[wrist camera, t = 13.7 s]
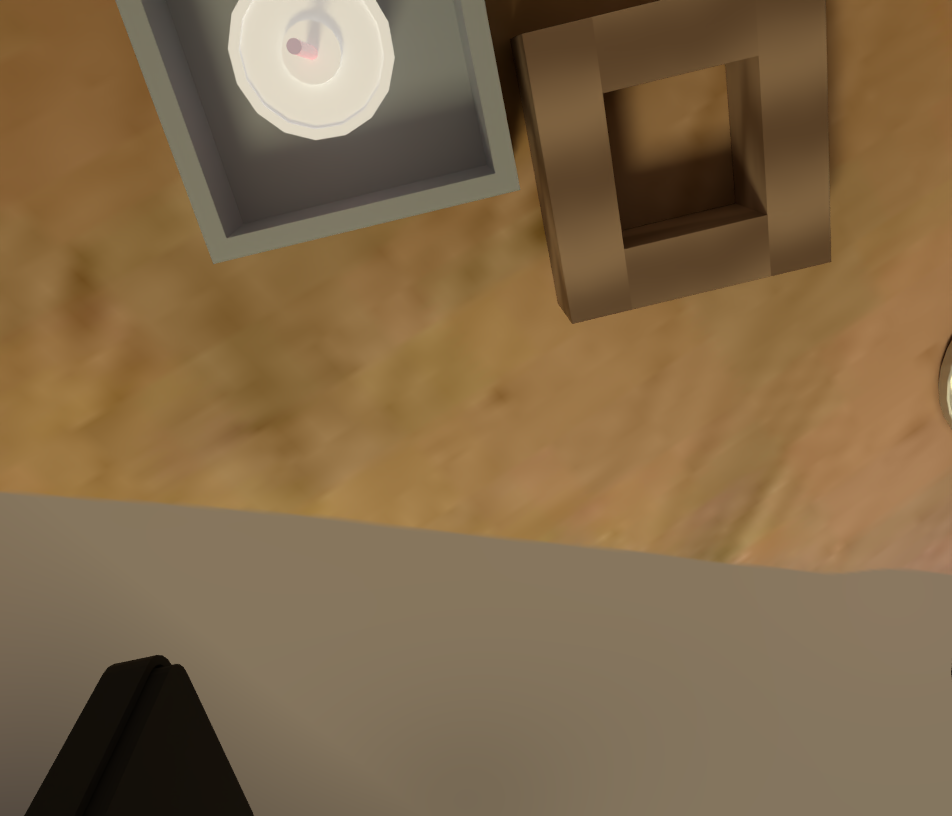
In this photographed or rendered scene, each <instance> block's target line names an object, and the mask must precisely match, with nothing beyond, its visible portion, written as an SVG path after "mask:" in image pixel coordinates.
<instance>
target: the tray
mask: <svg viewBox="0 0 952 816" xmlns="http://www.w3.org/2000/svg"><path fill="white" fill-rule="evenodd" d="M238 1H239V0H116V3H117V6H118V9H119V11H120V14H121V17H122V19H123V22H124V25H125V27H126V30H127V33H128V35H129V38H130V41H131V43H132V46H133V49H134V52H135V54H136V57H137V60H138V62H139V65H140V68H141V70H142V73H143V76H144V78H145V81H146V84H147V87H148V89H149V92H150V95H151V97H152V100H153V103H154V105H155V108H156V111H157V113H158V116H159V119H160V121H161V124H162V127H163V130H164V132H165V135H166V138H167V140H168V143H169V146H170V148H171V151H172V154H173V156H174V159H175V162H176V165H177V167H178V170H179V173H180V175H181V178H182V181H183V183H184V186H185V189H186V191H187V194H188V197H189V199H190V202H191V205H192V208H193V210H194V213H195V216H196V218H197V221H198V224H199V226H200V229H201V232H202V234H203V237H204V240H205V242H206V245H207V248H208V251H209V253H210V256H211V259H212V261H213V264H215V263H219V262H223V261H228V260H232V259H236V258H240V257H244V256H248V255H252V254H257V253H261V252H265V251H269V250H273V249H277V248H281V247H286V246H290V245H294V244H298V243H302V242H306V241H310V240H315V239H319V238H323V237H327V236H331V235H335V234H339V233H344V232H348V231H352V230H356V229H360V228H364V227H368V226H373V225H377V224H381V223H385V222H389V221H393V220H397V219H402V218H406V217H410V216H414V215H418V214H422V213H426V212H431V211H435V210H439V209H443V208H447V207H451V206H455V205H460V204H464V203H468V202H472V201H476V200H480V199H484V198H489V197H493V196H497V195H501V194H505V193H509V192H513V191H518V190H520V186H519V181H518V175H517V170H516V165H515V160H514V154H513V149H512V144H511V138H510V133H509V128H508V123H507V117H506V112H505V107H504V102H503V96H502V91H501V86H500V80H499V75H498V70H497V65H496V59H495V54H494V49H493V44H492V38H491V33H490V28H489V22H488V17H487V12H486V7H485V1H484V0H376V2H377V3H378V5H379V7H380V9H381V10H382V12H383V14H384V15H385V17H386V19H387V21H388V22H389V28H390V34H391V39H392V45H393V50H394V56H395V59H394V65H393V70H392V76H391V81H390V87H389V91H388V93H387V94H386V96H385V97H384V99H383V101H382V102H381V104H380V105H379V107H378V108H377V110H376V112H375V113H374V115H373V116H372V118H370V119H369V120H367V121H366V122H365V123H363V124H362V125H360V126H359V127H357V128H356V129H354V130H353V131H351V132H350V133H348V134H347V135H343V136H337V137H331V138H325V139H319V140H313V139H309V138H305V137H301V136H297V135H293V134H289V133H285V132H283V131H282V130H280V129H279V128H277V127H276V126H275V125H273V124H272V123H270V122H269V121H268V120H266V119H265V118H263V117H262V116H261V115H259V114H258V113H257V112H256V111H255V109H254V108H253V106H252V105H251V103H250V102H249V101H248V99H247V98H246V96H245V95H244V93H243V92H242V90H241V89H240V87H239V86H238V85H237V82H236V78H235V74H234V71H233V67H232V63H231V59H230V55H229V51H228V42H229V33H230V23H231V14H232V12H233V10H234V8H235V6H236V4H237V3H238Z"/></svg>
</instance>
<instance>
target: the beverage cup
mask: <svg viewBox="0 0 952 816" xmlns="http://www.w3.org/2000/svg"><path fill="white" fill-rule="evenodd" d="M228 51H229V55H230V59H231V63H232V67H233V71H234V74H235V78H236V82H237V85H238V86H239V87H240V89H241V90H242V92H243V93H244V95H245V96H246V98H247V99H248V101H249V102H250V103H251V105H252V106H253V108H254V109H255V111H256V112H257V113H258V114H259V115H261V116H262V117H263V118H265V119H266V120H268V121H269V122H270V123H272V124H273V125H275V126H276V127H277V128H279V129H280V130H282V131H283V132H285V133H289V134H293V135H297V136H301V137H305V138H309V139H313V140H319V139H325V138H331V137H337V136H343V135H347V134H348V133H350V132H351V131H353V130H354V129H356V128H357V127H359V126H360V125H362V124H363V123H365V122H366V121H367V120H369V119H370V118H372V116H373V115H374V113H375V112H376V110H377V108H378V107H379V105H380V104H381V102H382V101H383V99H384V97H385V96H386V94H387V93H388V91H389V87H390V81H391V76H392V70H393V65H394V59H395V56H394V50H393V45H392V39H391V34H390V28H389V22H388V21H387V19H386V17H385V15H384V14H383V12H382V10H381V9H380V7H379V5H378V3H377V2H376V0H239V1H238V3H237V4H236V6H235V8H234V10H233V12H232V14H231V23H230V33H229V42H228Z"/></svg>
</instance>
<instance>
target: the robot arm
mask: <svg viewBox="0 0 952 816" xmlns="http://www.w3.org/2000/svg"><path fill="white" fill-rule="evenodd" d="M938 388H939V402H940V406H941V409H942V412H943V415H944V418H945V419H946V421H947V423H948V424H949V426H950V427H951V429H952V341H951V343H950V345H949V346H948V348H947V351H946V354H945V357H944V360H943V363H942V366H941V370H940V377H939V384H938ZM951 675H952V670H951ZM24 816H254V815H253V812H252V810H251V808H250V806H249V804H248V801H247V799H246V797H245V795H244V793H243V791H242V789H241V787H240V785H239V782H238V780H237V778H236V776H235V774H234V772H233V770H232V767H231V765H230V763H229V761H228V759H227V757H226V755H225V753H224V751H223V748H222V746H221V744H220V742H219V740H218V738H217V736H216V734H215V731H214V729H213V727H212V726H211V723H210V721H209V719H208V717H207V714H206V712H205V710H204V708H203V706H202V704H201V702H200V700H199V697H198V695H197V693H196V691H195V689H194V687H193V685H192V683H191V681H190V678H189V676H188V674H187V672H186V670H185V669H184V667H183V666H181V665H180V664H174V665H171V663H170V662H169V660H168V659H167V658H165V657H164V656H162V655H155V656H151V657H146V658H141V659H136V660H132V661H127V662H122V663H117V664H113V665H111V666H110V667H108V668H107V669H106V671H105V672H104V673H103V675H102V677H101V678H100V680H99V682H98V684H97V686H96V687H95V689H94V691H93V693H92V695H91V696H90V698H89V700H88V702H87V704H86V705H85V707H84V709H83V711H82V713H81V714H80V716H79V718H78V720H77V722H76V724H75V725H74V727H73V729H72V731H71V732H70V734H69V736H68V738H67V740H66V742H65V744H64V745H63V747H62V749H61V750H60V752H59V754H58V756H57V758H56V759H55V761H54V763H53V765H52V767H51V769H50V770H49V772H48V774H47V776H46V778H45V779H44V781H43V783H42V785H41V787H40V788H39V790H38V792H37V794H36V796H35V797H34V799H33V801H32V803H31V805H30V807H29V808H28V810H27V812H26V814H25V815H24Z"/></svg>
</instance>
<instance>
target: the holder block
mask: <svg viewBox="0 0 952 816" xmlns="http://www.w3.org/2000/svg"><path fill="white" fill-rule="evenodd" d="M510 40H511V46H512V51H513V57H514V62H515V68H516V74H517V79H518V85H519V90H520V96H521V101H522V107H523V112H524V118H525V123H526V129H527V135H528V140H529V146H530V151H531V157H532V162H533V168H534V173H535V179H536V185H537V190H538V196H539V201H540V207H541V212H542V218H543V223H544V229H545V234H546V240H547V246H548V251H549V257H550V262H551V268H552V273H553V279H554V284H555V290H556V295H557V301H558V304H559V306H560V307H561V309H562V310H563V311H564V313H565V314H566V316H567V317H568V318H569V320H570V321H571V323H572V324H574V323H578V322H582V321H586V320H591V319H595V318H599V317H603V316H607V315H611V314H616V313H620V312H624V311H628V310H632V309H636V308H641V307H645V306H649V305H653V304H657V303H661V302H666V301H670V300H674V299H678V298H682V297H686V296H691V295H695V294H699V293H703V292H707V291H711V290H716V289H720V288H724V287H728V286H732V285H736V284H741V283H745V282H749V281H753V280H757V279H761V278H766V277H770V276H774V275H778V274H782V273H786V272H791V271H795V270H799V269H803V268H807V267H811V266H816V265H820V264H824V263H828V262H831V229H830V181H829V134H828V86H827V38H826V0H660V1H655V2H651V3H647V4H643V5H639V6H635V7H631V8H627V9H623V10H618V11H614V12H610V13H606V14H602V15H598V16H594V17H590V18H585V19H581V20H577V21H573V22H569V23H565V24H561V25H557V26H553V27H548V28H544V29H540V30H536V31H532V32H528V33H524V34H521V35H518V36H516V37H514V38H511V39H510ZM722 64H725V66H726V80H727V94H728V107H729V121H730V135H731V149H732V162H733V176H734V190H735V204H731V205H727V206H723V207H719V208H714V209H710V210H706V211H702V212H698V213H694V214H689V215H685V216H681V217H677V218H673V219H669V220H665V221H660V222H656V223H652V224H648V225H644V226H640V227H635V228H631V229H627V230H623V231H621V224H620V216H619V209H618V202H617V194H616V187H615V180H614V173H613V165H612V158H611V151H610V144H609V136H608V129H607V122H606V115H605V107H604V100H603V93H606V92H610V91H614V90H619V89H623V88H627V87H631V86H635V85H639V84H643V83H648V82H652V81H656V80H660V79H664V78H668V77H672V76H676V75H681V74H685V73H689V72H693V71H697V70H701V69H705V68H709V67H714V66H718V65H722Z"/></svg>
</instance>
